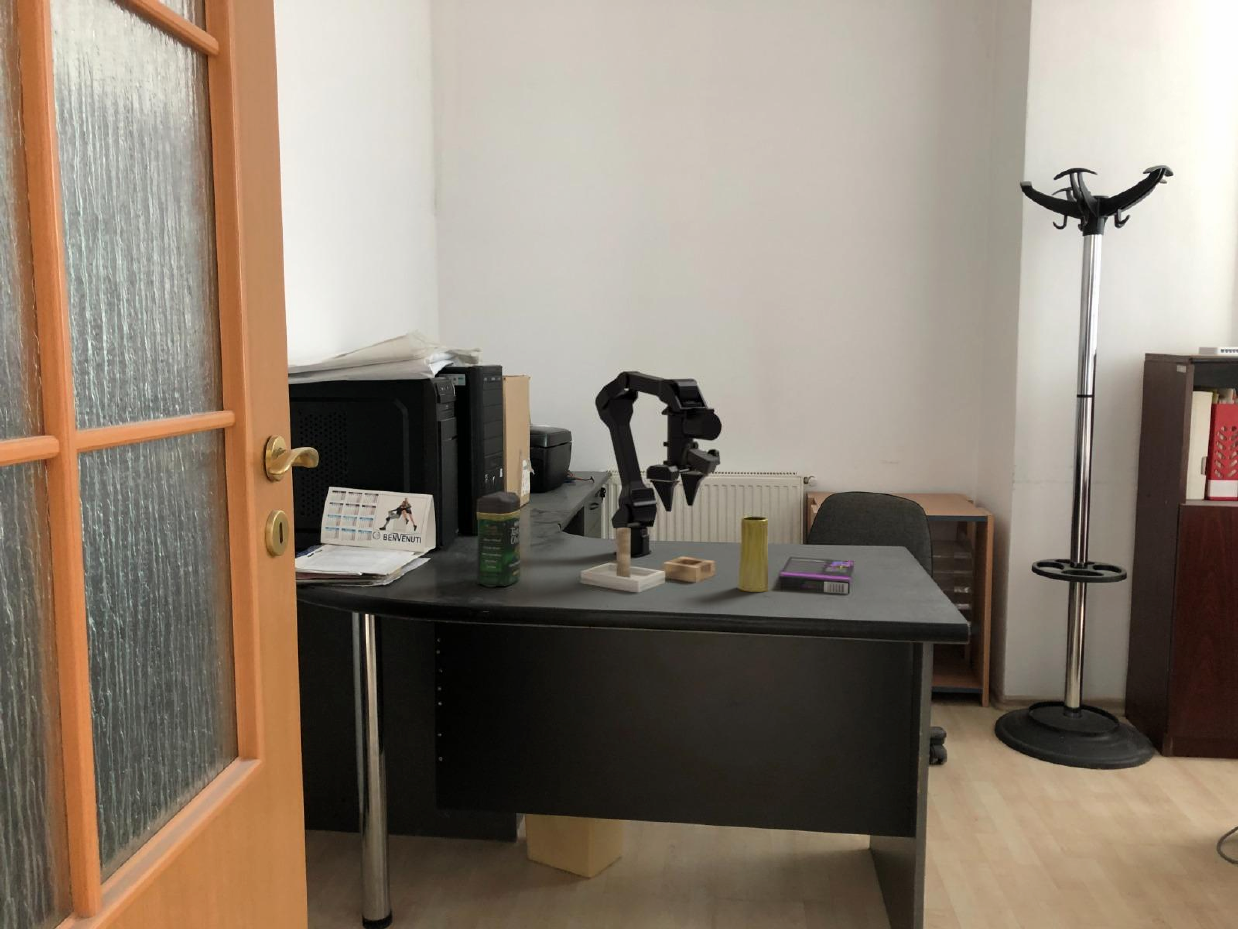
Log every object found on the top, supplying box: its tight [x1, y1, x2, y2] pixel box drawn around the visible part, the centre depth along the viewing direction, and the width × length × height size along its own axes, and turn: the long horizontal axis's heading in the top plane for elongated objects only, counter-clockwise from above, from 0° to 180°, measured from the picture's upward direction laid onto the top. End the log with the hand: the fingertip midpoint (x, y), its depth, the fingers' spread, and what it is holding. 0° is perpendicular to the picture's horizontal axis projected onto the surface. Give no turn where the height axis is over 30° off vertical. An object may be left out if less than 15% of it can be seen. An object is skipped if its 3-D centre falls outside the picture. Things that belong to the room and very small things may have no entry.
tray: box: [580, 562, 666, 594], centre depth 202 cm, size 14×10×2 cm
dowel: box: [616, 528, 631, 578], centre depth 201 cm, size 3×3×10 cm
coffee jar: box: [476, 490, 522, 588], centre depth 201 cm, size 10×8×19 cm
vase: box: [737, 515, 769, 593], centre depth 197 cm, size 6×6×14 cm
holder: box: [662, 556, 716, 583], centre depth 208 cm, size 8×8×3 cm
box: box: [778, 556, 855, 595], centre depth 205 cm, size 14×4×20 cm
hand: (679, 508), depth 215 cm, fingers open, 9 cm apart
